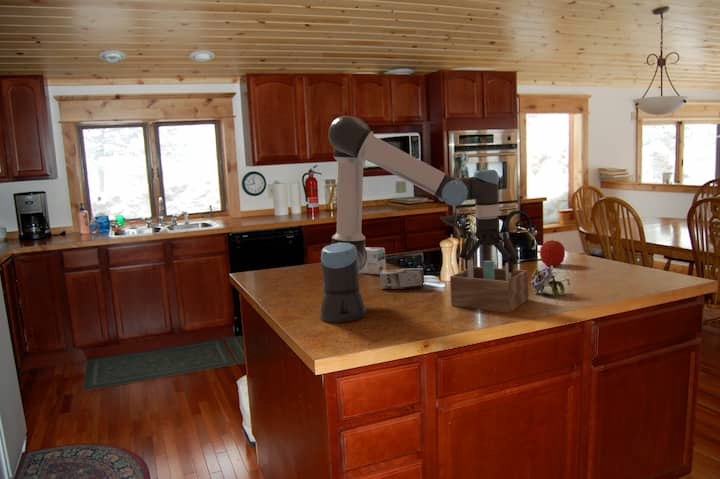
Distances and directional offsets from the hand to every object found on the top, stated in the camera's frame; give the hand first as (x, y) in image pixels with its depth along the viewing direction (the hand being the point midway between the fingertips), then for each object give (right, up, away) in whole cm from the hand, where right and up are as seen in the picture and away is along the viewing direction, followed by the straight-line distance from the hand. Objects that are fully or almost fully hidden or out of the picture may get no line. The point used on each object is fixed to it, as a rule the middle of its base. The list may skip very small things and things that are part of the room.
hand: (489, 280), depth 186 cm
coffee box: (-35, -2, +32) cm, 47 cm away
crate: (0, -8, +1) cm, 8 cm away
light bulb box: (-38, -1, +60) cm, 71 cm away
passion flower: (+22, -5, +7) cm, 24 cm away
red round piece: (+38, +2, +50) cm, 63 cm away
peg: (0, -8, +1) cm, 8 cm away
